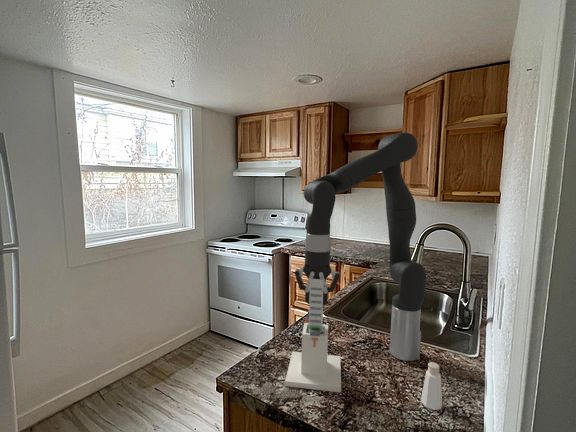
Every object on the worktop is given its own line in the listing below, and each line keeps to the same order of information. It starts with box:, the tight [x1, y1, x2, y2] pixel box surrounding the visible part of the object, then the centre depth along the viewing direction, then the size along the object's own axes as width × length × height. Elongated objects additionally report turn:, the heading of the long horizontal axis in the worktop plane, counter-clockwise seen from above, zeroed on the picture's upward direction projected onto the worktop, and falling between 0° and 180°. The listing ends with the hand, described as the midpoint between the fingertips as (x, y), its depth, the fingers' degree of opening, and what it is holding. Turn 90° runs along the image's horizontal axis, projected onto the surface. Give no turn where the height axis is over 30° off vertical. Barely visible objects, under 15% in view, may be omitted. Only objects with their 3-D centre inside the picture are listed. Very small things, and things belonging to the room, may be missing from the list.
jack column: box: [308, 278, 324, 334], centre depth 92 cm, size 4×4×22 cm
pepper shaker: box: [420, 361, 443, 411], centre depth 81 cm, size 5×5×11 cm
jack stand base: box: [284, 322, 342, 393], centre depth 94 cm, size 16×16×15 cm
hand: (316, 303), depth 92 cm, fingers closed on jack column, 4 cm apart
